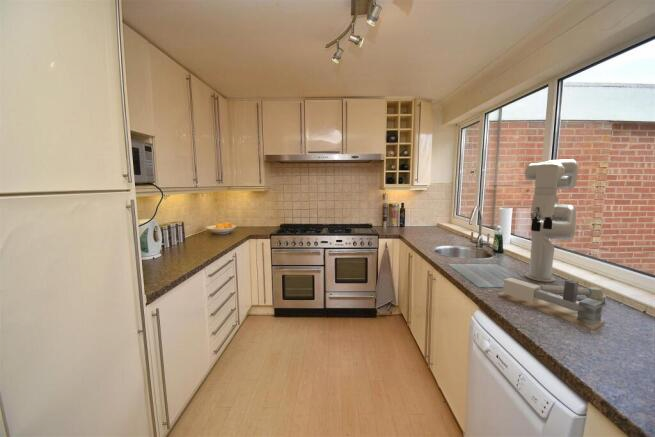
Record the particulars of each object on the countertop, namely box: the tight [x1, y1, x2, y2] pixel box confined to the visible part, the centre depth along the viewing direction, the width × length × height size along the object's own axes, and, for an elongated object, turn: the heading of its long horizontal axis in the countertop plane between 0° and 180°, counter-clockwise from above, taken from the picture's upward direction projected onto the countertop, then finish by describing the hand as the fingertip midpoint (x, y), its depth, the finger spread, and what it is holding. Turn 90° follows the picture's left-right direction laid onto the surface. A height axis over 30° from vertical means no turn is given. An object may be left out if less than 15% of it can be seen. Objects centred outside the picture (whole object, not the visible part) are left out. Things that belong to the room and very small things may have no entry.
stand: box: [497, 291, 605, 331], centre depth 110 cm, size 33×9×8 cm, turn 26°
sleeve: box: [502, 277, 541, 303], centre depth 118 cm, size 12×5×7 cm, turn 27°
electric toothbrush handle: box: [537, 283, 607, 304], centre depth 120 cm, size 5×7×25 cm
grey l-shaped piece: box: [534, 279, 580, 312], centre depth 106 cm, size 21×3×10 cm, turn 27°
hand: (541, 229), depth 120 cm, fingers open, 9 cm apart
